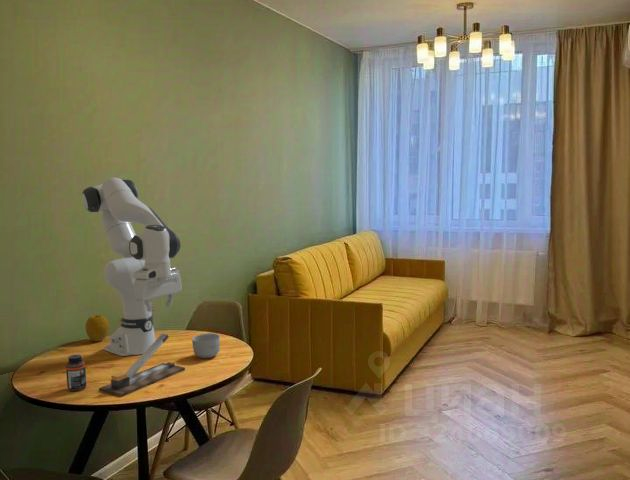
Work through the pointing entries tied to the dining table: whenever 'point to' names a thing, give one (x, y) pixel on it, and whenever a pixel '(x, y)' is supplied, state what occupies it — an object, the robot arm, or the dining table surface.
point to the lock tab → (119, 376)
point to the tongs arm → (146, 355)
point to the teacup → (206, 345)
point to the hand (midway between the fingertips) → (159, 308)
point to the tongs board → (141, 379)
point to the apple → (97, 327)
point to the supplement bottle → (76, 373)
